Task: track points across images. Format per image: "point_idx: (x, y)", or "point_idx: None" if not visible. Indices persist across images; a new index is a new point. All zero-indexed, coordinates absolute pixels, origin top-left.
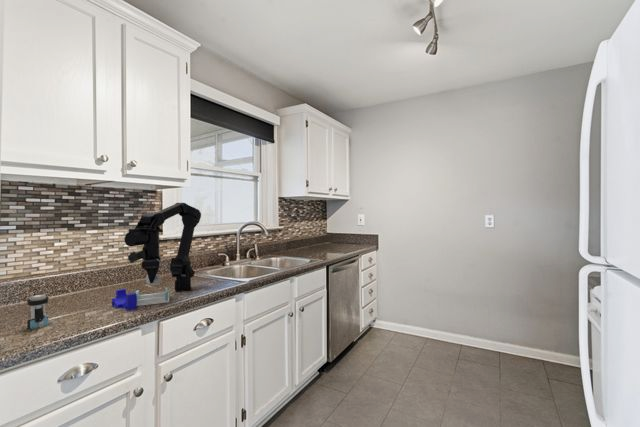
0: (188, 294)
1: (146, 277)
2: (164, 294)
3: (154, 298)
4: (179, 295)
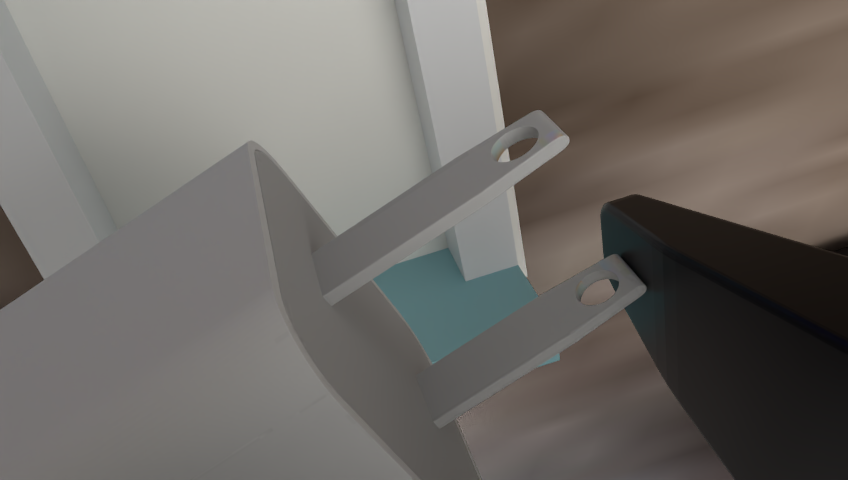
0: (522, 474)
1: (230, 275)
2: (453, 251)
3: (29, 236)
4: (507, 387)
